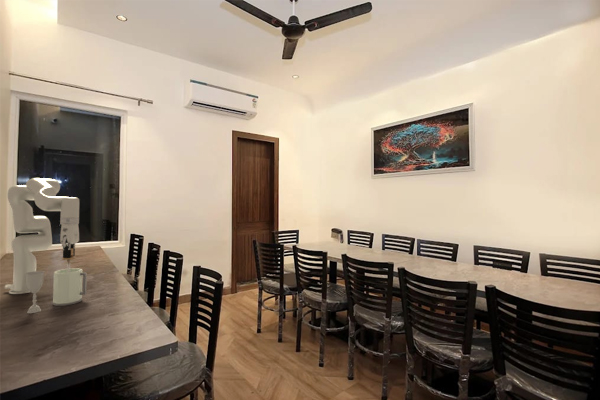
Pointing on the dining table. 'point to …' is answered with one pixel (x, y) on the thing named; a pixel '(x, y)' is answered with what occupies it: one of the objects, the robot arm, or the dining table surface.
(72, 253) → the plunger
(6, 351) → the dining table surface
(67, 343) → the dining table surface
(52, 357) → the dining table surface
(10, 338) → the dining table surface
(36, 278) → the chalice
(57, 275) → the press carafe
